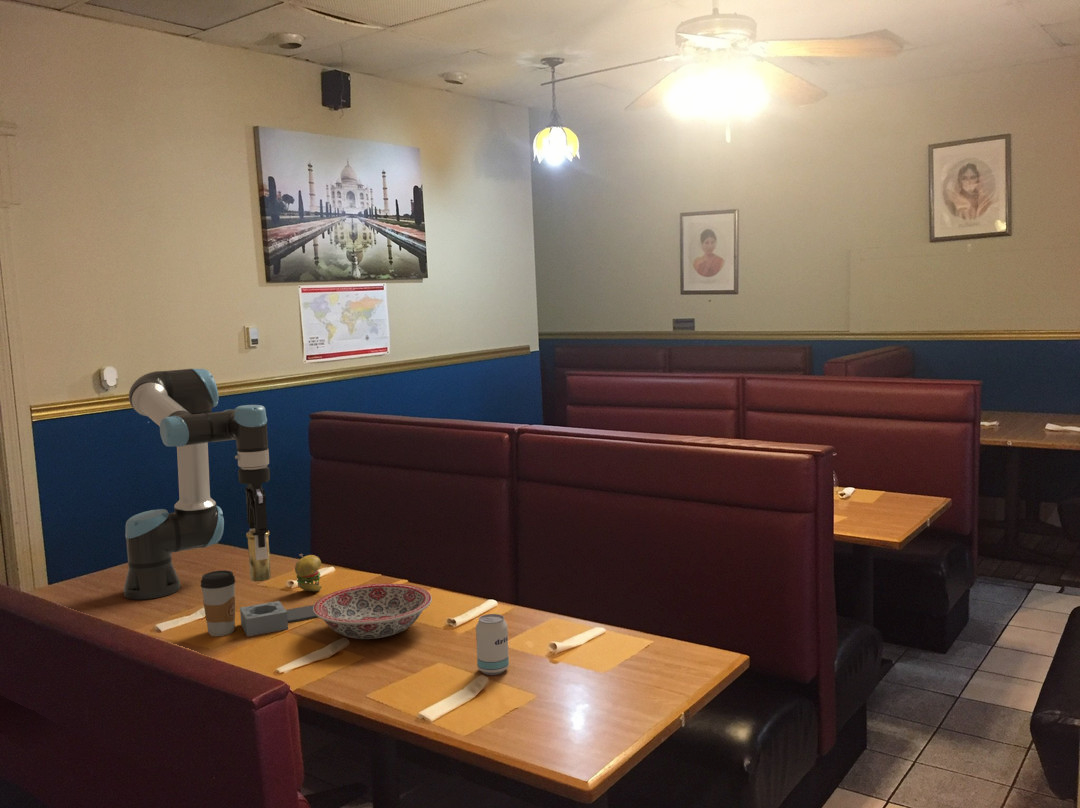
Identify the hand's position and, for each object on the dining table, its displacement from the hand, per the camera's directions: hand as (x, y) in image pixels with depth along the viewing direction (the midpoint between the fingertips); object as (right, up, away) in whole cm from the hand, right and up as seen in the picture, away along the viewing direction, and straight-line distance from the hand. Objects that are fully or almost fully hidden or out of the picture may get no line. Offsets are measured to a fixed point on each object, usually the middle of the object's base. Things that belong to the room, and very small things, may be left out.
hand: (259, 555), depth 226 cm
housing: (+1, -19, +2) cm, 19 cm away
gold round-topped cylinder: (0, -6, +1) cm, 6 cm away
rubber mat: (+8, -17, +10) cm, 22 cm away
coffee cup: (-9, -19, -1) cm, 21 cm away
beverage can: (+61, -20, -30) cm, 71 cm away
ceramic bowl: (+30, -19, -4) cm, 36 cm away
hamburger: (+5, -16, +29) cm, 33 cm away
